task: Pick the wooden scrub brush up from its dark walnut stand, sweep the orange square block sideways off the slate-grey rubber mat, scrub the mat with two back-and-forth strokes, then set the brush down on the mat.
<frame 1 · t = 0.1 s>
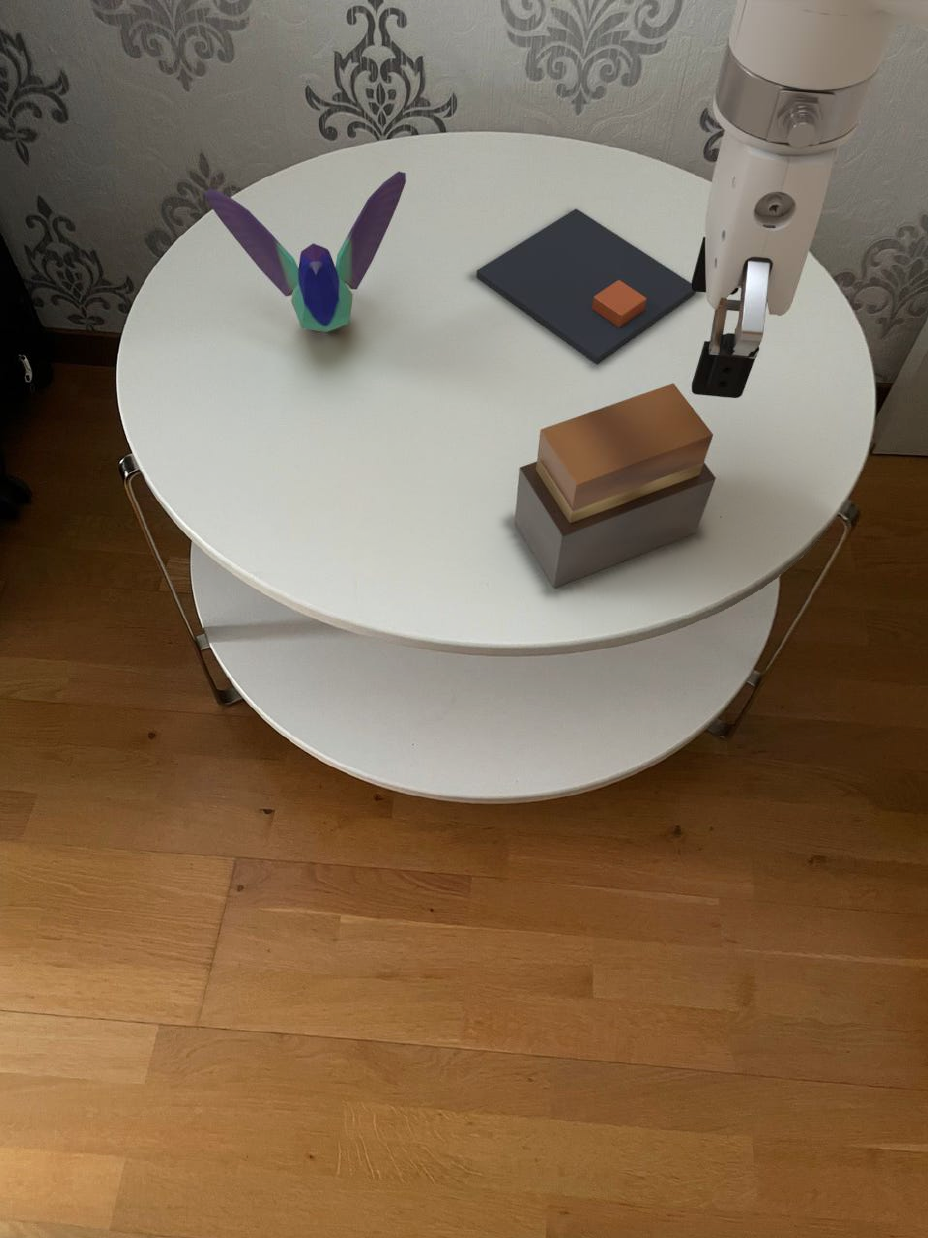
hand: (714, 339, 63), 18 cm above the table, tool pointing down, fingers open, 9 cm apart
mat: (585, 285, 92), on the table
stand: (604, 527, 77), on the table
orange square block: (617, 309, 89), point 1 cm above the table, touching mat
decorative sculpture: (328, 341, 88), on the table
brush: (617, 472, 71), point 7 cm above the table, touching stand
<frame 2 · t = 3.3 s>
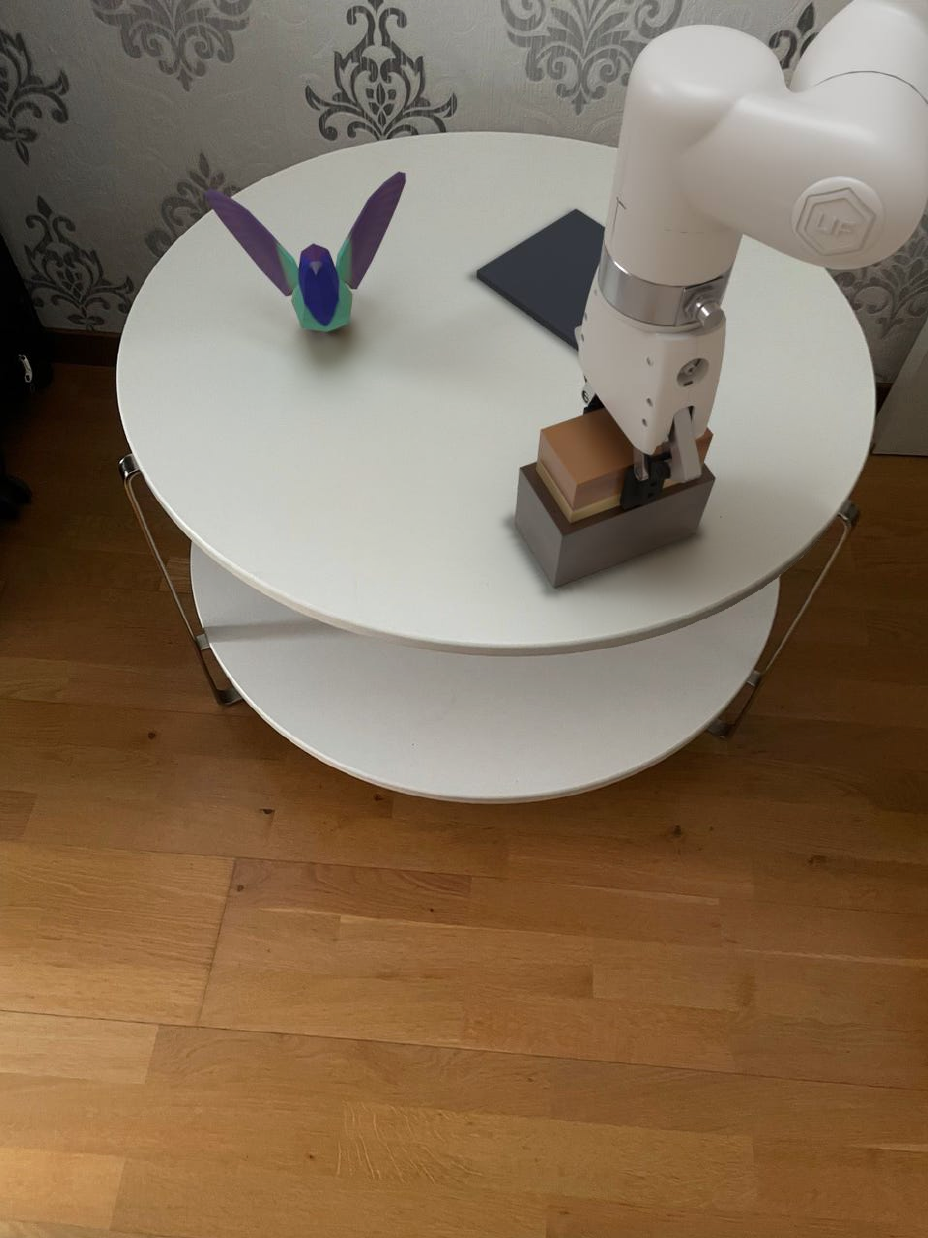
hand: (618, 468, 71), 8 cm above the table, tool pointing down, fingers closed on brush, 5 cm apart
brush: (617, 472, 71), point 7 cm above the table, touching gripper, stand
everything else where it was.
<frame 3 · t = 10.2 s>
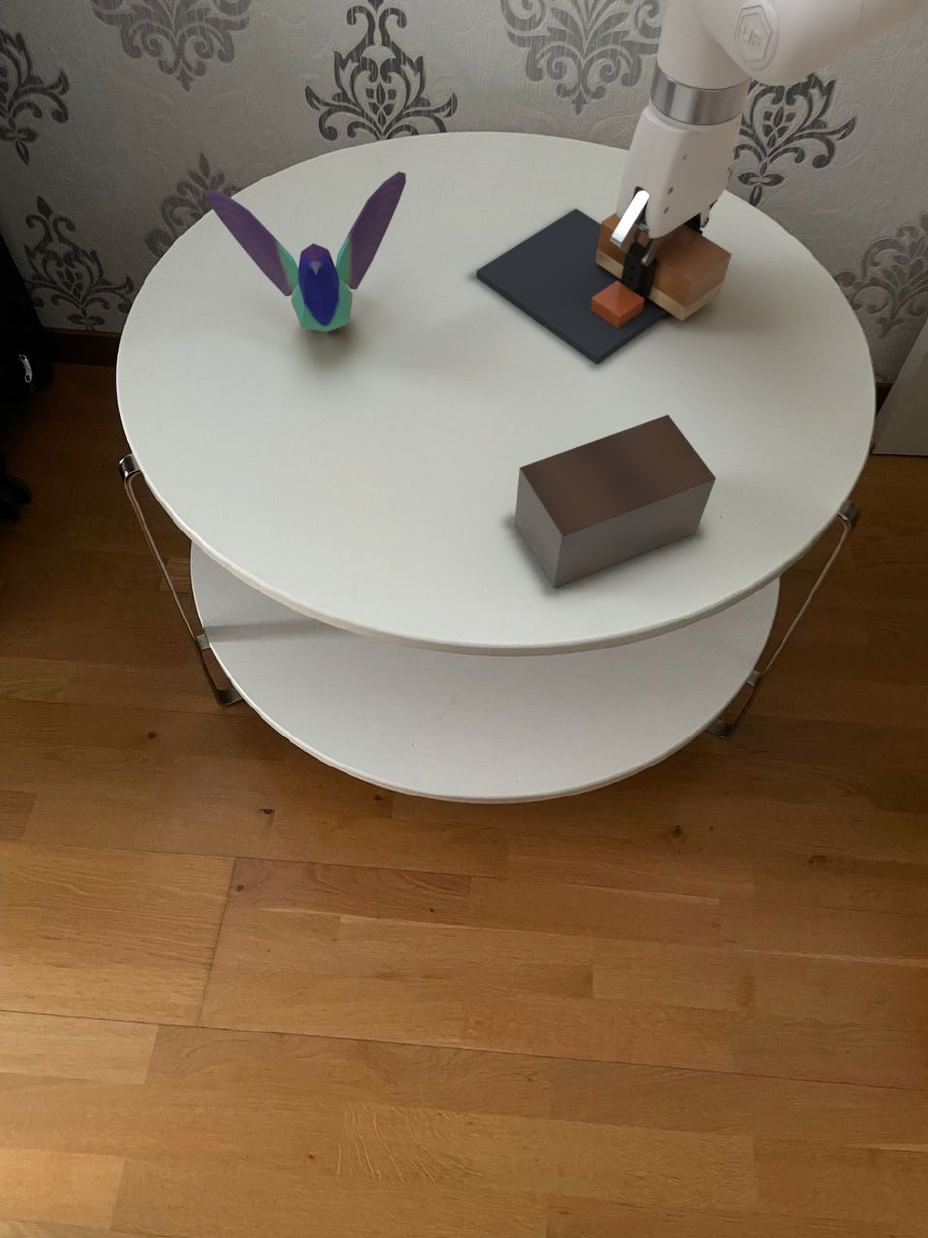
hand: (657, 273, 90), 2 cm above the table, tool pointing down, fingers closed on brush, 5 cm apart
orange square block: (616, 310, 89), point 1 cm above the table, touching gripper, mat
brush: (656, 277, 90), point 1 cm above the table, touching gripper
everything else where it was.
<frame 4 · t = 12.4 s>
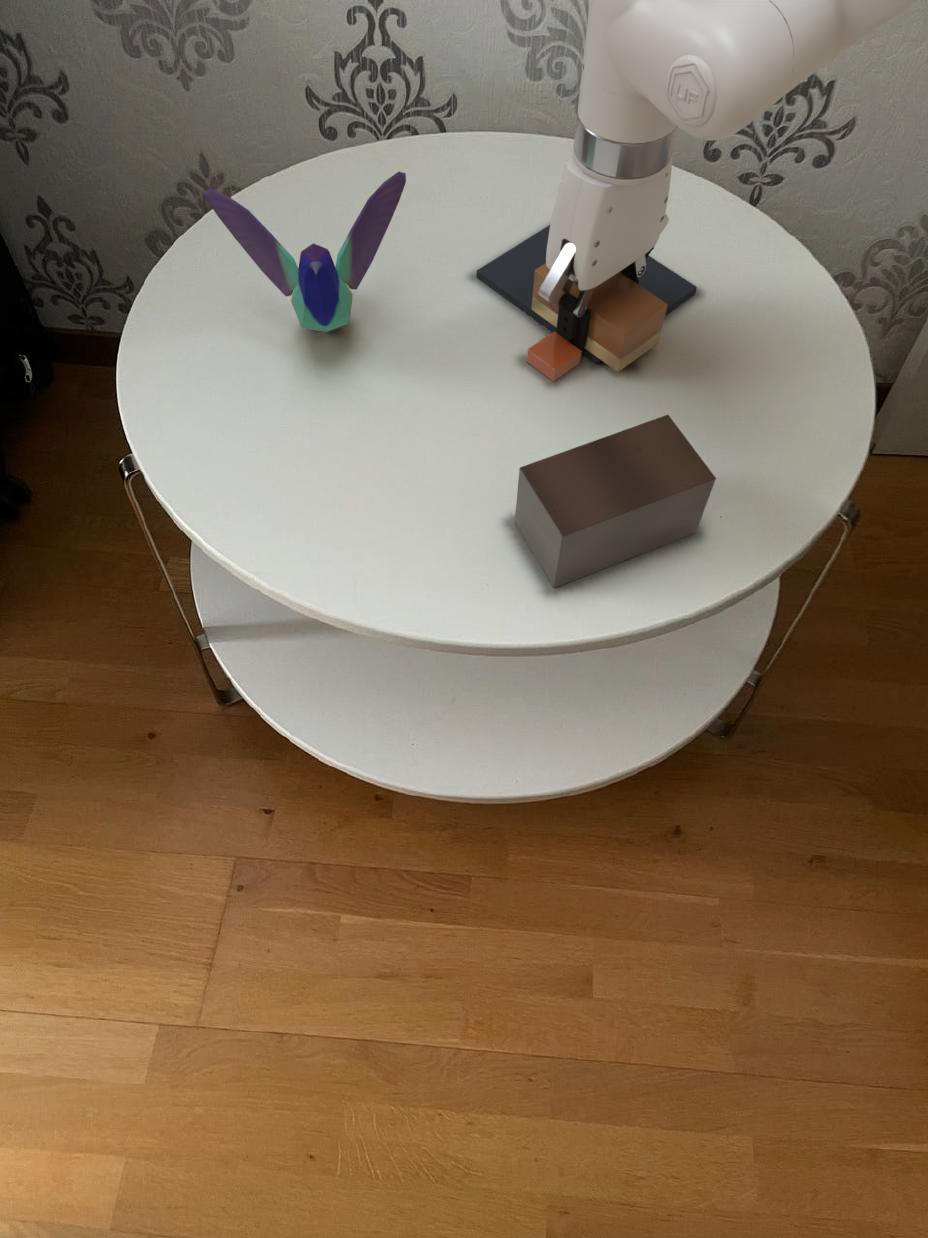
hand: (594, 321, 87), 1 cm above the table, tool pointing down, fingers closed on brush, 5 cm apart
orange square block: (553, 362, 86), on the table, touching gripper
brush: (594, 326, 88), point 1 cm above the table, touching gripper
everything else where it was.
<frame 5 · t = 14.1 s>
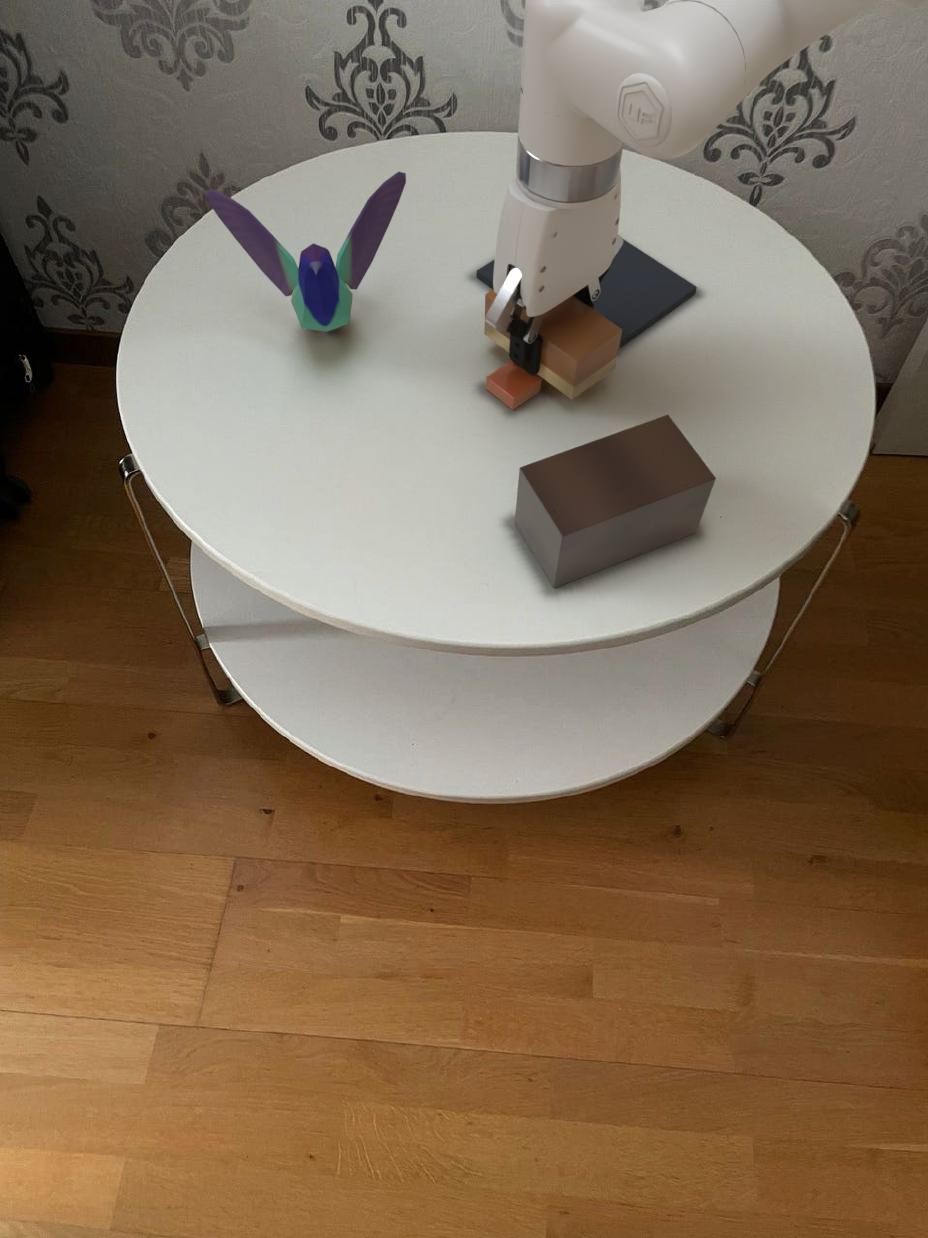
hand: (549, 347, 84), 2 cm above the table, tool pointing down, fingers closed on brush, 5 cm apart
orange square block: (513, 389, 85), on the table
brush: (548, 351, 84), point 2 cm above the table, touching gripper
everything else where it was.
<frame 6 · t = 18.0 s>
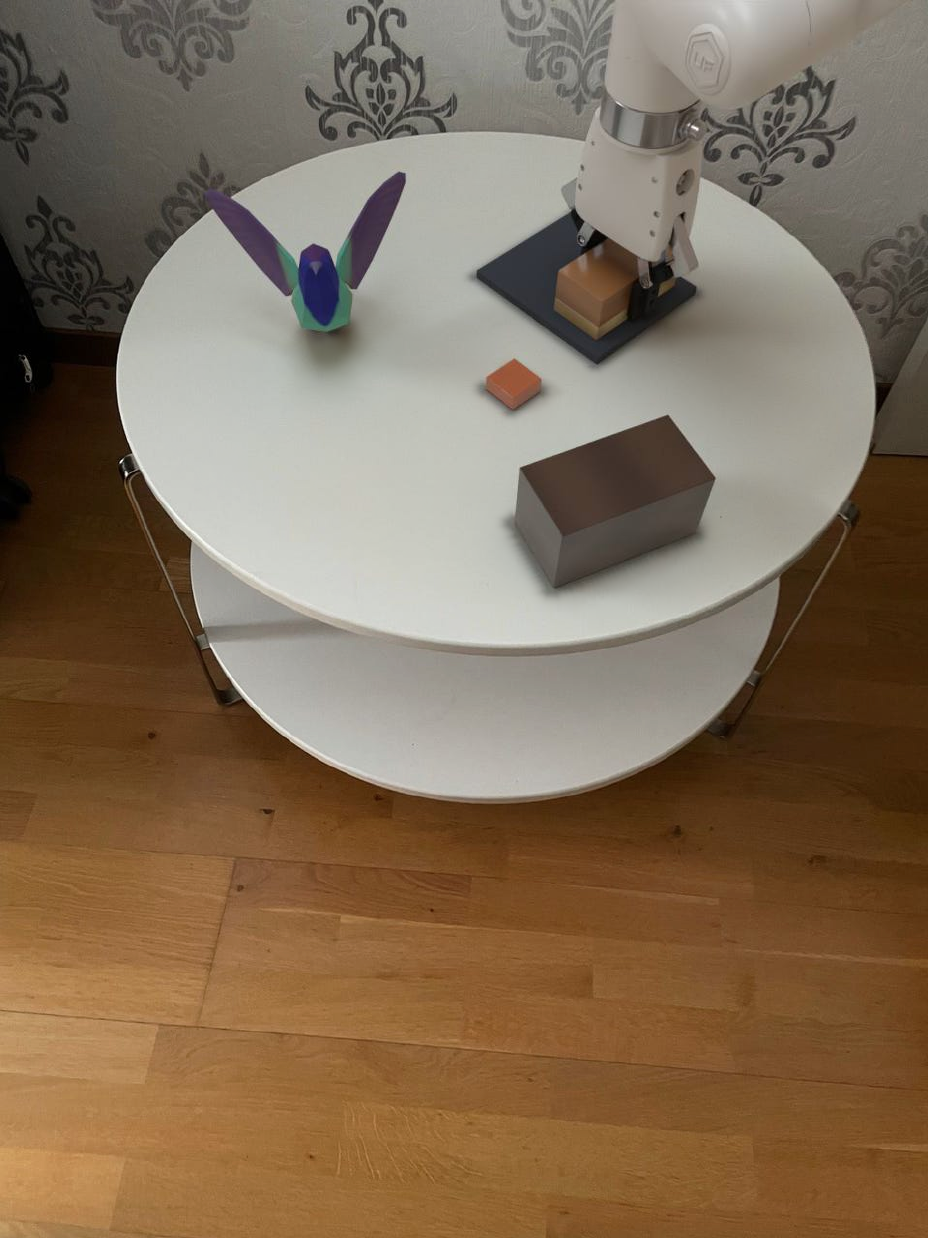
hand: (615, 293, 89), 1 cm above the table, tool pointing down, fingers closed on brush, 5 cm apart
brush: (614, 297, 90), point 1 cm above the table, touching gripper
everything else where it was.
when the fingers open (1 cm above the table, at t = 21.0 s): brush stays where it is, resting on mat.
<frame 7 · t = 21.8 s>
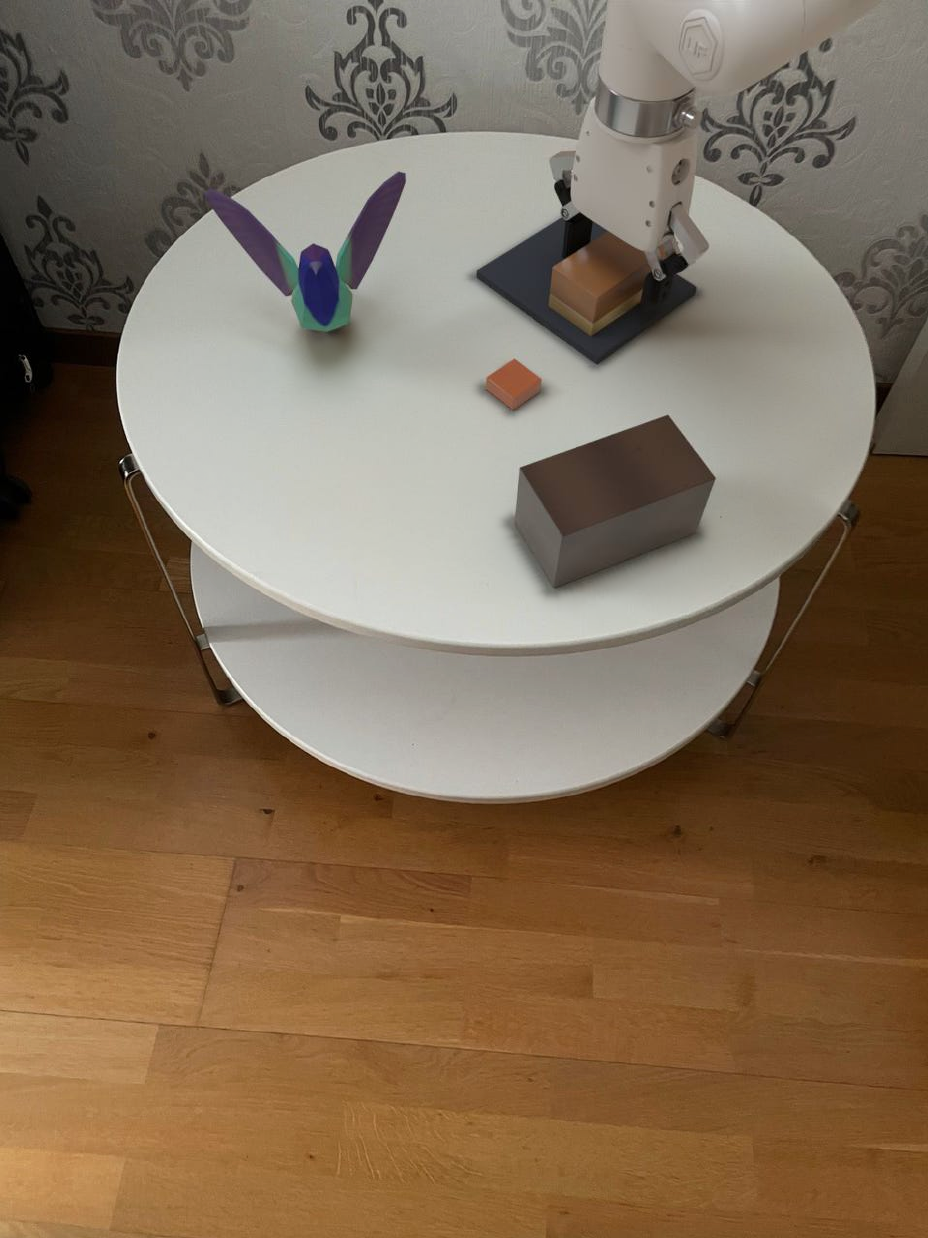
hand: (613, 278, 88), 3 cm above the table, tool pointing down, fingers open, 9 cm apart
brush: (609, 294, 90), point 1 cm above the table, touching mat
everything else where it was.
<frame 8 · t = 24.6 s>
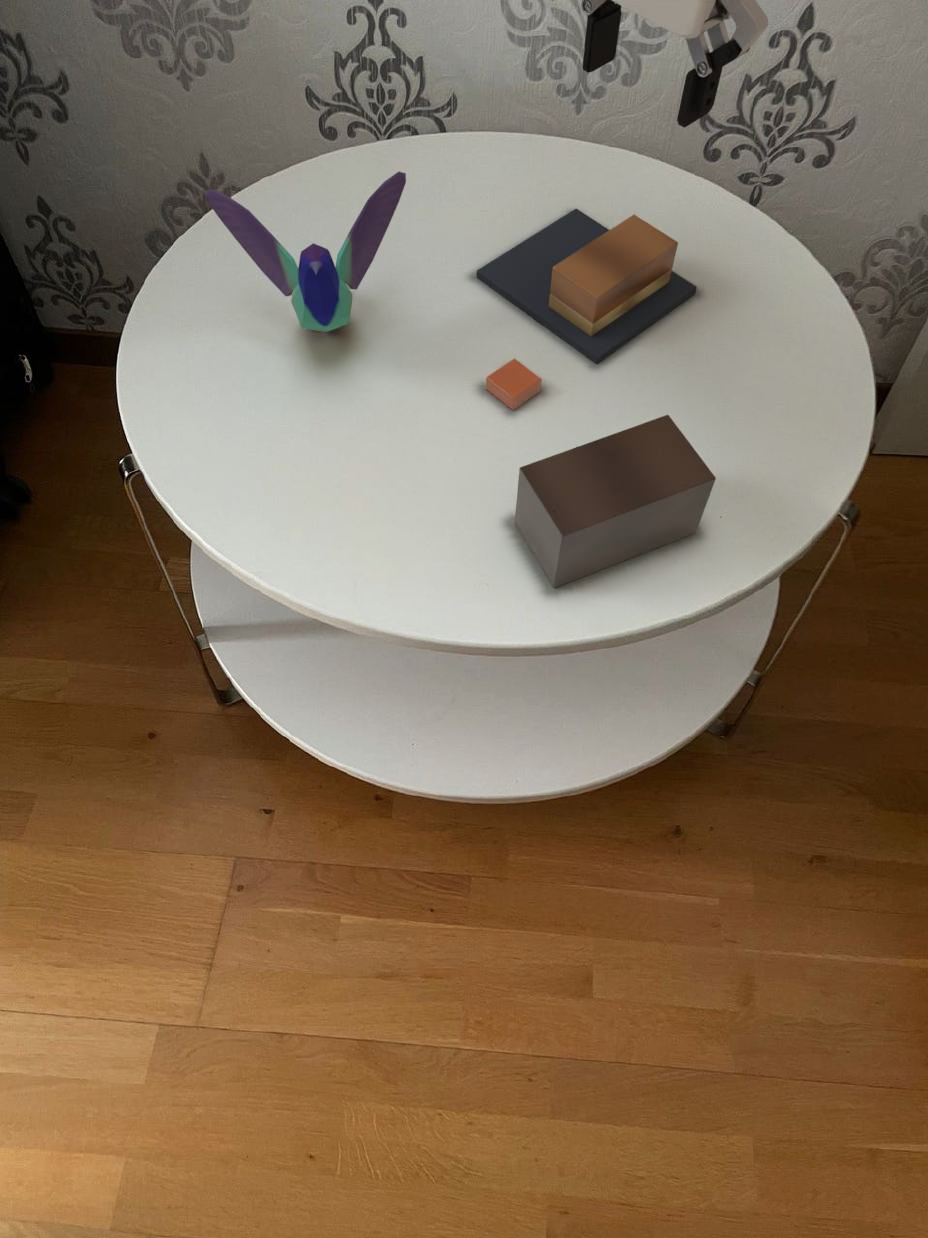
hand: (644, 91, 73), 20 cm above the table, tool pointing down, fingers open, 9 cm apart
nothing on the table moved.
at the end: orange square block inside the target area on the table beside the mat (2.6 cm from its centre), on the table; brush inside the target area on the mat (3.0 cm from its centre), point 0.8 cm above the mat's base; the gripper is holding nothing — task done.
